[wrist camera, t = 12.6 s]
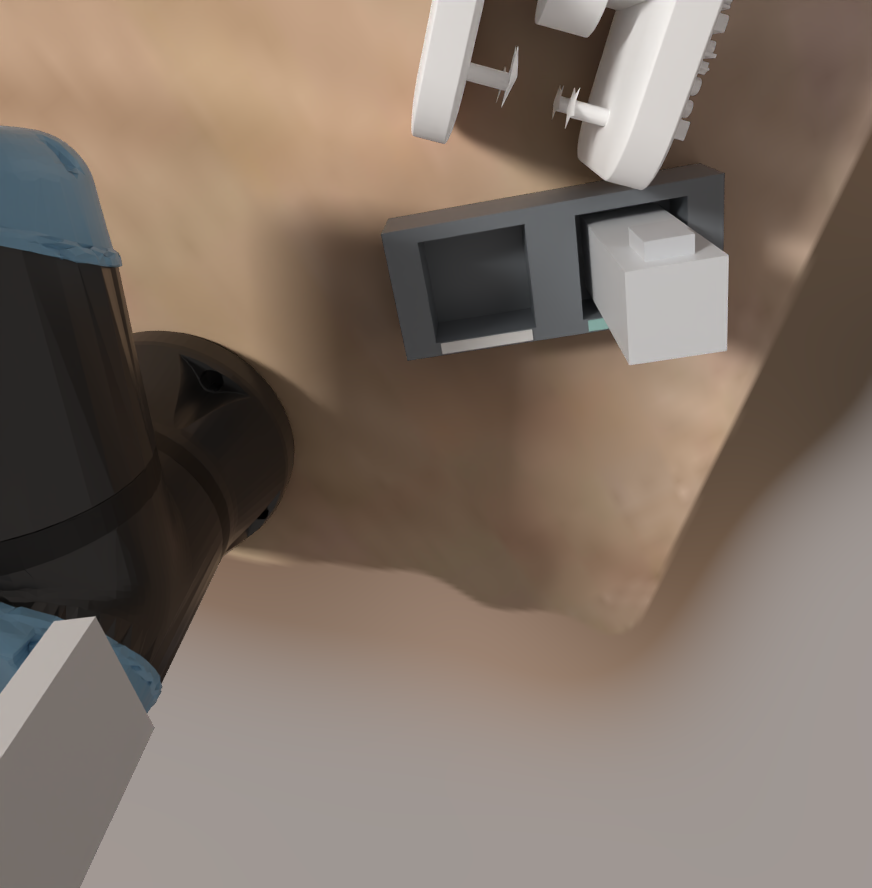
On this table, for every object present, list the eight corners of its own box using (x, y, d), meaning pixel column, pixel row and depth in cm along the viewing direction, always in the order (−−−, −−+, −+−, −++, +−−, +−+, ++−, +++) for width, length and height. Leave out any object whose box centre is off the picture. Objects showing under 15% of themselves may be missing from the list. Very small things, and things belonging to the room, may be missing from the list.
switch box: (412, 336, 42) (407, 361, 39) (388, 218, 39) (380, 234, 36) (699, 290, 41) (723, 312, 37) (699, 163, 37) (725, 173, 34)
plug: (585, 286, 40) (629, 365, 30) (579, 200, 38) (623, 252, 27) (656, 274, 40) (726, 350, 29) (654, 187, 37) (729, 234, 27)
